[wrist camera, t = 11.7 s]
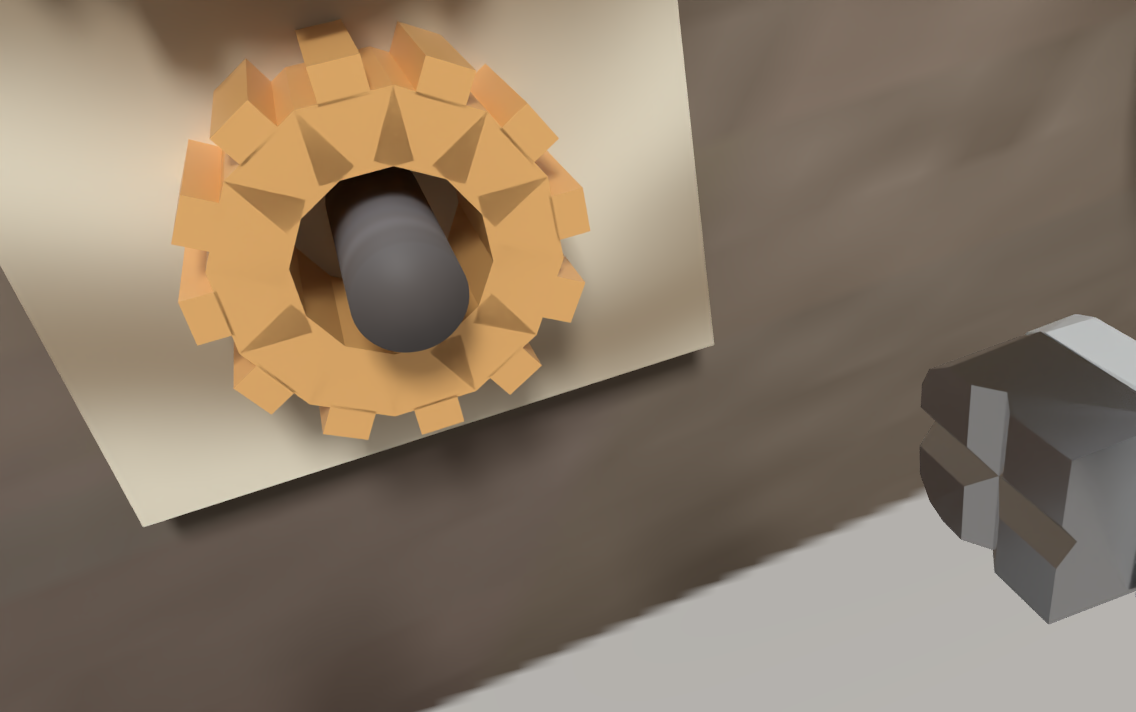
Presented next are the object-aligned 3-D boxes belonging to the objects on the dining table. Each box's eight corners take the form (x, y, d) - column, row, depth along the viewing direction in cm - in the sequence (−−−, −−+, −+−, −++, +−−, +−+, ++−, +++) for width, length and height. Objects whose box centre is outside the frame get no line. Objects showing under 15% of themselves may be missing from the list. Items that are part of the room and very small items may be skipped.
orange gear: (257, 400, 19) (260, 486, 17) (118, 72, 16) (96, 118, 13) (568, 306, 20) (615, 373, 18) (504, -21, 17) (551, 6, 14)
